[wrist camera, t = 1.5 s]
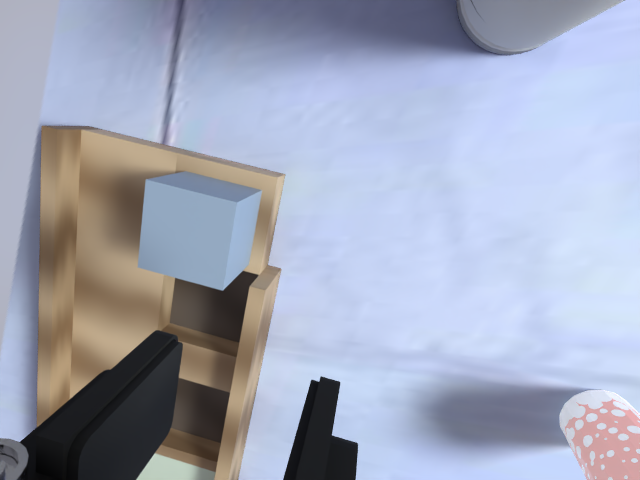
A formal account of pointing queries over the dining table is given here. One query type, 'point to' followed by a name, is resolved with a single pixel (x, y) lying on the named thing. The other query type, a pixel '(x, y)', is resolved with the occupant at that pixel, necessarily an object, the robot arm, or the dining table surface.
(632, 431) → the beverage cup
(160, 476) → the pad
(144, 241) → the block
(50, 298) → the box
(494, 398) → the dining table surface
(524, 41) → the travel mug
